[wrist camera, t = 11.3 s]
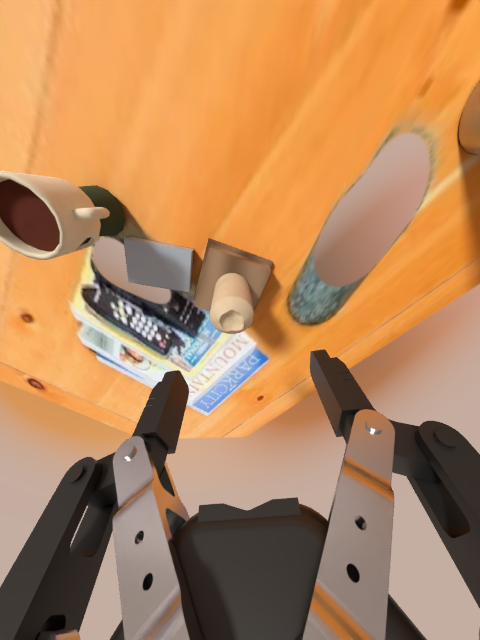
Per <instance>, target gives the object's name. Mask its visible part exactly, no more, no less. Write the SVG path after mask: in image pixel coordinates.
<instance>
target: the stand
mask: <svg viewBox="0 0 480 640" xmlns="http://www.w3.org/2000/svg"><path fill="white" fill-rule="evenodd" d="M272 264H273V262H272V261H270V260H267V259H264V258H262V257H259V256H256V255H254V254H251V253H248V252H245V251H243V250H240V249H237V248H234V247H232V246H229V245H226V244H224V243H221V242H218V241H215V240H213V239H210V238H209V239H208V243H207V247H206V251H205V255H204V259H203V263H202V267H201V271H200V276H199V280H198V284H197V288H196V292H195V296H194V300H196V302H195V307H198V308H202V309H205V310H209V311H210V309H211V304H212V299H213V294H214V289H215V285H216V282H217V281H218V279H219V278H220V277H221V276H223V275H224V274H227V273H236V274H239V275H241V276H242V277H244V278H245V280H246V281H247V283H248V286H249V290H250V295H251V301H252V306H253V311H254V309H255V307H256V304H257V302H258V300H259V298H260V296H261V293H262V291H263V289H264V287H265V285H266V282H267V280H268V278H269V276H270V274H271V266H272Z"/></svg>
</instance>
